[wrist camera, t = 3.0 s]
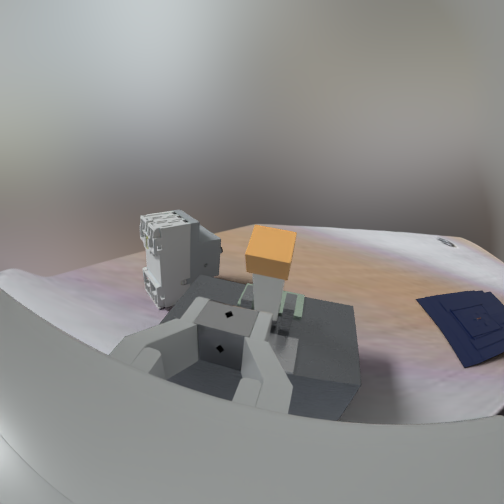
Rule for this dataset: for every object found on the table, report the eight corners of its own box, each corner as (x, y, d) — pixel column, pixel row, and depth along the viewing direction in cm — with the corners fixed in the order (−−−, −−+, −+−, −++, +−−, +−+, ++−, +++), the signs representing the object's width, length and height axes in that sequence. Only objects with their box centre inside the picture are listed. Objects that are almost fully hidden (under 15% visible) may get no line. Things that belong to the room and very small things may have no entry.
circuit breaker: (225, 289, 54) (230, 217, 47) (158, 309, 45) (152, 229, 39) (206, 272, 59) (208, 205, 52) (144, 288, 50) (139, 215, 44)
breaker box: (161, 389, 30) (146, 308, 25) (200, 326, 43) (200, 251, 37) (329, 430, 27) (375, 360, 21) (333, 356, 39) (360, 283, 33)
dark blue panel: (528, 345, 35) (534, 334, 34) (458, 378, 35) (467, 365, 34) (483, 296, 57) (487, 285, 56) (412, 307, 57) (416, 295, 56)
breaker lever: (250, 323, 30) (245, 254, 19) (256, 302, 32) (255, 224, 21) (278, 329, 30) (290, 263, 19) (283, 308, 31) (296, 232, 20)
